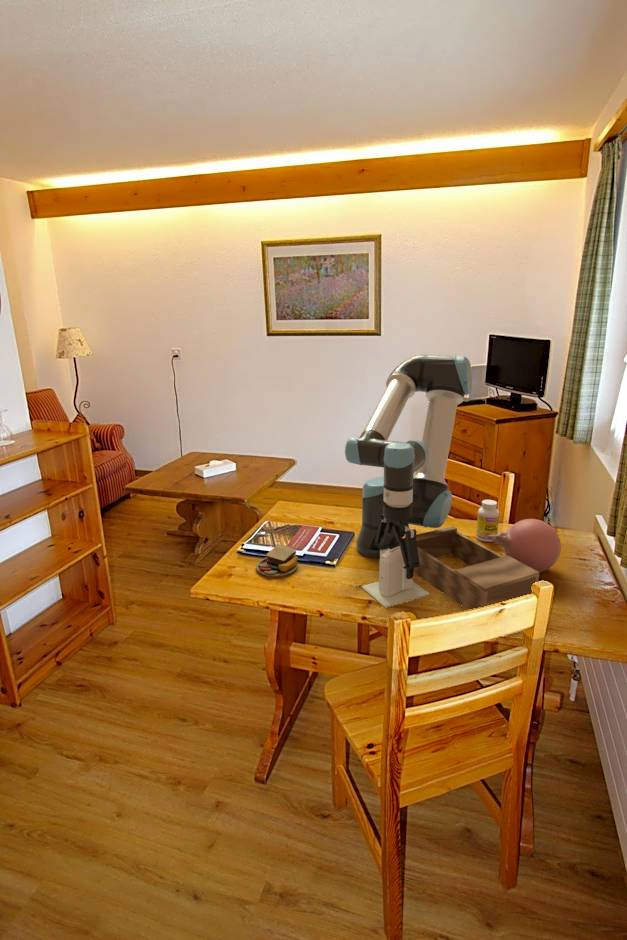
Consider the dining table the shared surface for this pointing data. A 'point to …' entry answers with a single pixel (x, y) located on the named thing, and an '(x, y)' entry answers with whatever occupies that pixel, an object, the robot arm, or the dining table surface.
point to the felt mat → (396, 598)
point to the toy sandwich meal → (278, 562)
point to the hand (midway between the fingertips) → (395, 579)
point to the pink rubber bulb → (530, 543)
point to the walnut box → (471, 570)
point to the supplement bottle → (487, 520)
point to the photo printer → (391, 572)
